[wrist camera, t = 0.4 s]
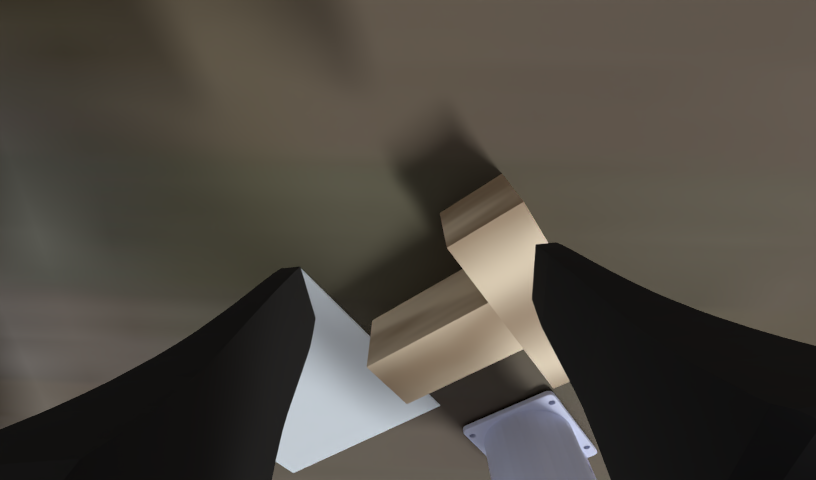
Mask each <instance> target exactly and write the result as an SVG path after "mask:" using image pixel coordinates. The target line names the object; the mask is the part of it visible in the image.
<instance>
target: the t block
mask: <svg viewBox="0 0 816 480" xmlns="http://www.w3.org/2000/svg"><path fill="white" fill-rule="evenodd" d="M440 217H441V222H442V227H443V232H444V237H445V241H446V246H447V249H448V250H449V251H450V253H451V254H452V255H453V257H454V258H455V259H456V261H457V262H458V263H459V265H460V266H461V267H462V268H463V269H461V270H460V271H458V272H456V273H454V274H453V275H451V276H449V277H447V278H446V279H444V280H442V281H440V282H439V283H437V284H435V285H433V286H432V287H430V288H428V289H426V290H425V291H423V292H421V293H419V294H418V295H416V296H414V297H412V298H411V299H409V300H407V301H405V302H404V303H402V304H400V305H398V306H397V307H395V308H393V309H391V310H390V311H388V312H386V313H384V314H383V315H381V316H379V317H377V318H376V319H374V320H372V327H371V336H370V344H369V352H368V360H367V368H368V369H369V370H370V371H371V372H372V373H374V374H375V375H376V376H377V377H378V378H379V379H380V380H381V381H382V382H383V383H384V384H385V385H387V386H388V387H389V388H390V389H391V390H392V391H393V392H394V393H395V394H396V395H397V396H399V397H400V398H401V399H402V400H403V401H404V402H405V403H406V404H408V403H411V402H413V401H415V400H417V399H419V398H421V397H423V396H425V395H427V394H430V393H432V392H434V391H436V390H438V389H440V388H442V387H444V386H446V385H449V384H451V383H453V382H455V381H457V380H459V379H461V378H463V377H465V376H468V375H470V374H472V373H474V372H476V371H478V370H480V369H482V368H485V367H487V366H489V365H491V364H493V363H495V362H497V361H499V360H501V359H504V358H506V357H508V356H510V355H512V354H514V353H516V352H518V351H520V350H523V349H524V350H525V352H526V353H527V354H528V356H529V357H530V358H531V360H532V361H533V362H534V364H535V365H536V366H537V368H538V369H539V370H540V371H541V373H542V374H543V375H544V377H545V378H546V379H547V381H548V382H549V383H550V385H551V386H552V387H553V389H554V388H556V387H558V386H561V385H563V384H565V383H568V382H570V381H569V379H568V377H567V375H566V373H565V371H564V369H563V367H562V365H561V364H560V362H559V360H558V358H557V356H556V354H555V352H554V350H553V348H552V346H551V345H550V343H549V341H548V339H547V337H546V335H545V333H544V331H543V329H542V327H541V324H540V321H539V319H538V316H537V313H536V310H535V307H534V304H533V301H532V288H533V274H534V260H535V247H536V244H546V243H548V242H547V240H546V238H545V237H544V235H543V233H542V232H541V230H540V228H539V227H538V225H537V223H536V222H535V220H534V218H533V217H532V215H531V213H530V212H529V210H528V208H527V207H526V205H525V203H524V202H523V200H522V199H521V198H520V196H519V195H518V194H517V192H516V191H515V190H514V189H513V187H512V186H511V185H510V183H509V182H508V181H507V180H506V178H505V177H504V176H503V174H501V175H499V176H497V177H496V178H494V179H493V180H491V181H490V182H488V183H486V184H485V185H483V186H482V187H480V188H479V189H477V190H475V191H474V192H472V193H471V194H469V195H467V196H466V197H464V198H463V199H461V200H460V201H458V202H456V203H455V204H453V205H452V206H450V207H449V208H447V209H445V210H444V211H442V212H441V213H440Z"/></svg>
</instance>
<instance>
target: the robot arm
mask: <svg viewBox="0 0 816 480" xmlns="http://www.w3.org/2000/svg"><path fill="white" fill-rule="evenodd" d="M532 301H533V304H534V307H535V310H536V313H537V316H538V319H539V321H540V324H541V327H542V329H543V331H544V333H545V335H546V337H547V339H548V341H549V343H550V345H551V346H552V348H553V350H554V352H555V354H556V356H557V358H558V360H559V362H560V364H561V365H562V367H563V369H564V371H565V373H566V375H567V377H568V379H569V381H570V383H571V384H572V386H573V388H574V390H575V392H576V394H577V396H578V398H579V400H580V403H581V405H582V407H583V409H584V412H585V414H586V417H587V419H588V421H589V424H590V426H591V429H592V431H593V434H594V436H595V439H596V441H597V444H598V447H599V449H600V452H601V454H602V457H603V460H604V462H605V465H606V468H607V470H608V473H609V476H610V478H611V480H816V346H814V345H810V344H806V343H802V342H798V341H795V340H791V339H787V338H783V337H780V336H776V335H773V334H770V333H766V332H763V331H759V330H756V329H753V328H749V327H746V326H743V325H740V324H737V323H734V322H731V321H728V320H725V319H722V318H719V317H716V316H713V315H710V314H707V313H704V312H702V311H699V310H696V309H694V308H691V307H689V306H686V305H684V304H681V303H679V302H676V301H673V300H671V299H668V298H666V297H664V296H661V295H659V294H657V293H654V292H652V291H650V290H648V289H646V288H644V287H642V286H640V285H637V284H635V283H633V282H631V281H629V280H627V279H625V278H623V277H621V276H619V275H617V274H615V273H613V272H611V271H609V270H608V269H606V268H604V267H602V266H600V265H598V264H596V263H595V262H593V261H591V260H589V259H587V258H585V257H584V256H582V255H580V254H578V253H576V252H574V251H573V250H571V249H569V248H567V247H565V246H563V245H561V244H559V243H546V244H536V247H535V260H534V274H533V288H532ZM315 319H316V317H315V314H314V311H313V307H312V304H311V301H310V297H309V294H308V290H307V287H306V284H305V280H304V277H303V274H302V270H301V267H293V268H282V269H280V270H278V271H277V272H275V273H274V274H272V275H271V276H270V277H268V278H267V279H266V280H264V281H263V282H262V283H260V284H259V285H258V286H257V287H255V288H254V289H253V290H252V291H250V292H249V293H248V294H246V295H245V296H244V297H242V298H241V299H240V300H239V301H237V302H236V303H235V304H233V305H232V306H231V307H230V308H228V309H227V310H225V311H224V312H223V313H221V314H220V315H218V316H217V317H216V318H214V319H213V320H211V321H210V322H209V323H207V324H206V325H205V326H203V327H202V328H200V329H199V330H197V331H196V332H194V333H193V334H191V335H190V336H188V337H187V338H185V339H184V340H182V341H180V342H179V343H177V344H176V345H174V346H172V347H171V348H169V349H167V350H166V351H164V352H162V353H161V354H159V355H157V356H156V357H154V358H152V359H150V360H148V361H146V362H145V363H143V364H141V365H139V366H137V367H135V368H133V369H132V370H130V371H128V372H126V373H124V374H122V375H120V376H119V377H117V378H115V379H113V380H111V381H109V382H107V383H105V384H103V385H101V386H99V387H97V388H95V389H93V390H90V391H88V392H86V393H84V394H82V395H80V396H78V397H75V398H73V399H71V400H69V401H67V402H65V403H62V404H60V405H58V406H56V407H53V408H51V409H49V410H46V411H44V412H42V413H40V414H37V415H35V416H32V417H30V418H27V419H25V420H22V421H20V422H17V423H15V424H13V425H10V426H8V427H5V428H3V429H0V480H272V475H273V471H274V466H275V461H276V457H277V453H278V449H279V444H280V440H281V436H282V431H283V428H284V424H285V421H286V418H287V414H288V411H289V408H290V405H291V403H292V400H293V397H294V394H295V391H296V388H297V385H298V382H299V379H300V376H301V373H302V371H303V368H304V365H305V362H306V359H307V356H308V353H309V349H310V346H311V341H312V336H313V331H314V325H315ZM463 433H464V435H465V436H466V437H467V438H468V439H469V440H471V441H472V442H473V443H474V444H475V445H476V446H477V447H478V448H479V449H480V450H481V451H482V452H483V453H484V454H485V455H486V456H487V460H488V466H489V471H490V476H491V480H597V479H596V477H595V475H594V472H593V470H592V468H591V466H590V463H589V461H588V459H587V458H588V457H591V456H593V455H595V454H596V453H597V450H596V448H595V446H594V445H593V444H592V442H591V441H590V440H589V438H588V437H587V436H586V434H585V433H584V432H583V430H582V429H581V428H580V427H579V425H578V424H577V423H576V421H575V420H574V419H573V417H572V416H571V415H570V413H569V412H568V411H567V410H566V408H565V407H564V406H563V404H562V403H561V402H560V400H559V399H558V398H557V396H556V395H555V394H554V393H553V392H552V391H545V392H542V393H540V394H538V395H535V396H533V397H531V398H528V399H526V400H524V401H521V402H519V403H517V404H514V405H512V406H510V407H507V408H505V409H503V410H500V411H498V412H496V413H493V414H491V415H489V416H486V417H484V418H482V419H479V420H477V421H475V422H472V423H470V424H468V425H466V426H464V427H463Z"/></svg>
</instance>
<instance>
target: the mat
mask: <svg viewBox="0 0 816 480" xmlns="http://www.w3.org/2000/svg"><path fill="white" fill-rule="evenodd" d="M301 270H302V269H301ZM302 274H303V277H304V280H305V284H306V287H307V290H308V294H309V297H310V301H311V304H312V307H313V311H314V314H315V317H316V319H315V325H314V331H313V336H312V341H311V346H310V349H309V353H308V356H307V359H306V362H305V365H304V368H303V371H302V373H301V376H300V379H299V382H298V385H297V388H296V391H295V394H294V397H293V400H292V403H291V405H290V408H289V411H288V414H287V418H286V421H285V424H284V428H283V431H282V436H281V440H280V444H279V449H278V453H277V457H276V462H277V463H279V464H280V465H282V466H283V467H285V468H286V469H288V470H290V471H291V472H293V473H294V472H297V471H299V470H301V469H303V468H305V467H308V466H310V465H312V464H314V463H316V462H319V461H321V460H323V459H325V458H327V457H329V456H332V455H334V454H336V453H338V452H340V451H343V450H345V449H347V448H349V447H351V446H354V445H356V444H358V443H360V442H362V441H364V440H367V439H369V438H371V437H373V436H375V435H378V434H380V433H382V432H384V431H386V430H389V429H391V428H393V427H395V426H397V425H399V424H402V423H404V422H406V421H408V420H410V419H413V418H415V417H417V416H419V415H421V414H424V413H426V412H428V411H430V410H432V409H434V408H437V407H439V406H440V404H439V403H438V402H437V401H436V400H435V399H434V398H433V397H432V396H431V395H430V394H427V395H425V396H423V397H421V398H419V399H417V400H415V401H413V402H411V403H408V404H406V403H405V402H404V401H403V400H402V399H401V398H400V397H399V396H397V395H396V394H395V393H394V392H393V391H392V390H391V389H390V388H389V387H388V386H387V385H385V384H384V383H383V382H382V381H381V380H380V379H379V378H378V377H377V376H376V375H375V374H374V373H372V372H371V371H370V370H369V369H368V368H367V360H368V352H369V344H370V335H369V334H368V333H367V332H366V331H365V330H363V329H362V328H361V327H360V326H359V325H358V324H357V323H356V322H355V321H354V320H353V319H352V318H351V317H350V316H349V315H348V314H347V313H346V312H345V311H344V310H343V309H342V308H341V307H340V306H339V305H338V304H337V303H336V302H335V301H334V300H333V299H332V298H331V297H330V296H329V295H328V294H327V293H326V292H325V291H324V290H323V289H322V288H321V287H320V286H319V285H318V284H317V283H316V282H315V281H314V280H313V279H312V278H311V277H310V276H309V275H308V274H307V273H305V272H304V271H303V270H302Z"/></svg>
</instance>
